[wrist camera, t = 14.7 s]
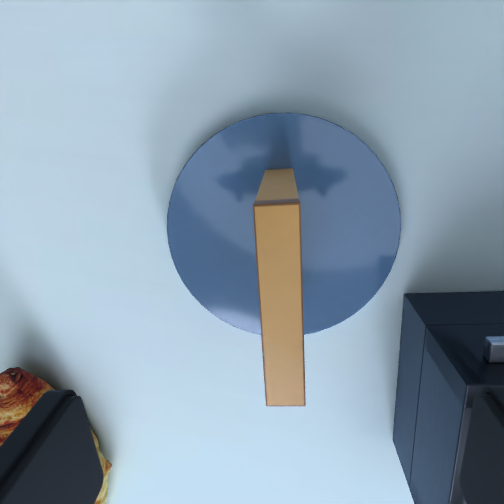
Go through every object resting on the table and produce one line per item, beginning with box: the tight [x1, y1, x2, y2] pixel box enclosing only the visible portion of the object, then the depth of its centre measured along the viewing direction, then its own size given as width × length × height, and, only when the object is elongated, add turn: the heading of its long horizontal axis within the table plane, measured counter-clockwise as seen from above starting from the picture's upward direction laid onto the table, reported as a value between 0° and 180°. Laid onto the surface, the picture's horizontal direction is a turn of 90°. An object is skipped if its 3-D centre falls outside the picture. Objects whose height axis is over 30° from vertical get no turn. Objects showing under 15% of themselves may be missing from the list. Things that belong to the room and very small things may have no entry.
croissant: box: [0, 367, 112, 504], centre depth 33 cm, size 21×10×8 cm, turn 8°
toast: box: [253, 168, 305, 406], centre depth 21 cm, size 2×10×10 cm, turn 4°
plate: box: [167, 113, 401, 335], centre depth 26 cm, size 16×16×1 cm
